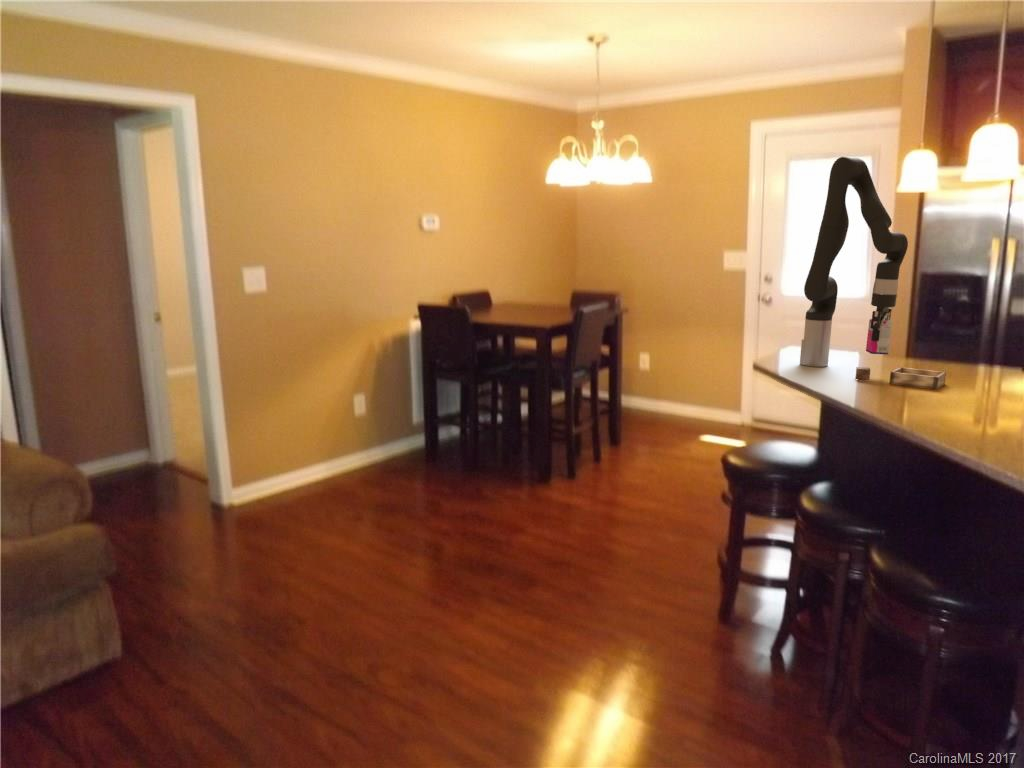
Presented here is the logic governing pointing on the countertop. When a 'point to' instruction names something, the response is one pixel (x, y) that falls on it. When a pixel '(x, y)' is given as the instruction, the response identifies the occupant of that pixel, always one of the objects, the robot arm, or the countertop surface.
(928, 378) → the crate
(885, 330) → the supplement box
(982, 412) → the countertop surface
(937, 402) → the countertop surface
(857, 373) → the walnut block
